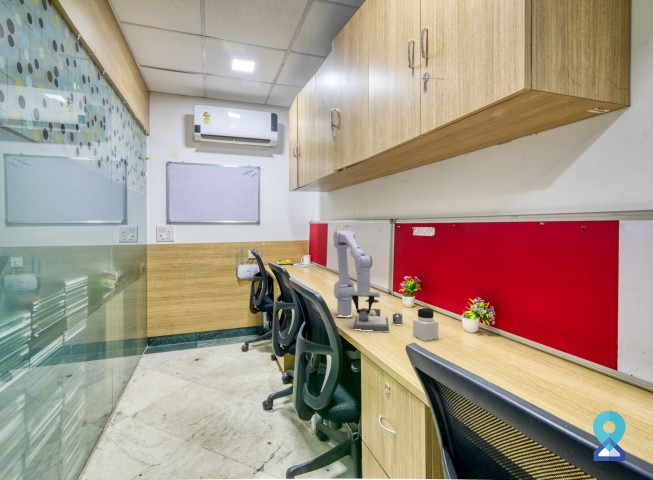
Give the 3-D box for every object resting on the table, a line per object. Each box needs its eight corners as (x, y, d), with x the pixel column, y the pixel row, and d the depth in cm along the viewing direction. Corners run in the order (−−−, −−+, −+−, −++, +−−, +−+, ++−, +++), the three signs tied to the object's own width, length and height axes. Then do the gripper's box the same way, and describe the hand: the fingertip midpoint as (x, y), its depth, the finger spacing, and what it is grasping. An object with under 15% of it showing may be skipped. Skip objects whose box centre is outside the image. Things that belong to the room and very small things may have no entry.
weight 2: (392, 322, 150) (392, 312, 150) (401, 323, 149) (402, 312, 149) (392, 325, 145) (392, 314, 145) (402, 325, 145) (402, 315, 145)
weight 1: (360, 317, 144) (360, 307, 144) (369, 319, 142) (369, 308, 142) (357, 320, 140) (357, 309, 140) (366, 321, 138) (366, 310, 138)
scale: (356, 320, 154) (356, 308, 154) (387, 321, 151) (387, 309, 151) (353, 330, 137) (353, 317, 137) (388, 332, 135) (388, 318, 135)
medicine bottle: (438, 339, 126) (438, 309, 126) (424, 341, 123) (425, 311, 123) (425, 334, 133) (426, 305, 132) (412, 336, 130) (412, 307, 129)
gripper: (346, 283, 137) (346, 314, 137) (380, 284, 135) (379, 315, 135) (347, 281, 144) (347, 310, 144) (379, 281, 142) (379, 311, 142)
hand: (363, 312), depth 140 cm, fingers closed on weight 1, 4 cm apart
